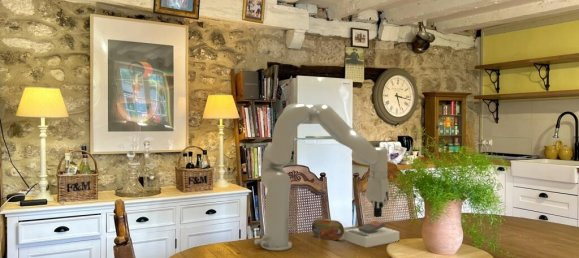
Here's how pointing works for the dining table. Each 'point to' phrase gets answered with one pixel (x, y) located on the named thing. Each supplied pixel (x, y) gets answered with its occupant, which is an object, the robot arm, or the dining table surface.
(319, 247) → the dining table surface
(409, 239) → the dining table surface
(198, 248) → the dining table surface
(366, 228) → the rocker
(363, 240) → the switch panel
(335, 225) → the tin
